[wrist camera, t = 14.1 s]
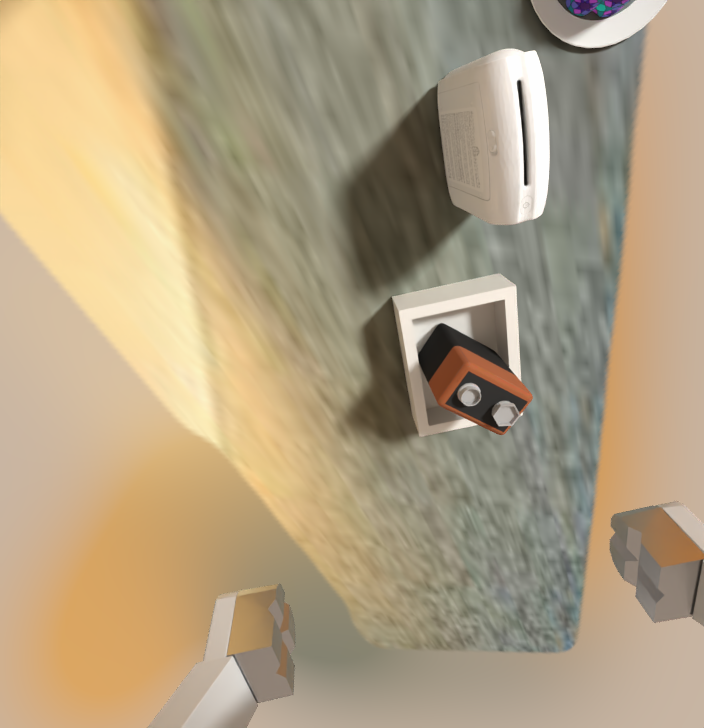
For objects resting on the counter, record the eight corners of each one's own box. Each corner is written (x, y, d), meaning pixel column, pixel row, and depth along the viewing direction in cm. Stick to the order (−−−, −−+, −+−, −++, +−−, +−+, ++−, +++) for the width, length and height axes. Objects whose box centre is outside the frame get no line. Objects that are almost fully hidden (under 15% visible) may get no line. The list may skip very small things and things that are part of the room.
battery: (471, 386, 47) (507, 445, 38) (413, 357, 45) (438, 412, 36) (497, 350, 46) (542, 403, 37) (439, 319, 44) (471, 366, 35)
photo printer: (497, 200, 41) (566, 223, 30) (447, 212, 41) (497, 239, 30) (485, 61, 36) (561, 27, 25) (430, 75, 36) (481, 48, 25)
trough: (391, 296, 44) (398, 310, 40) (499, 273, 43) (516, 285, 40) (412, 415, 49) (419, 436, 46) (507, 394, 49) (522, 415, 45)
